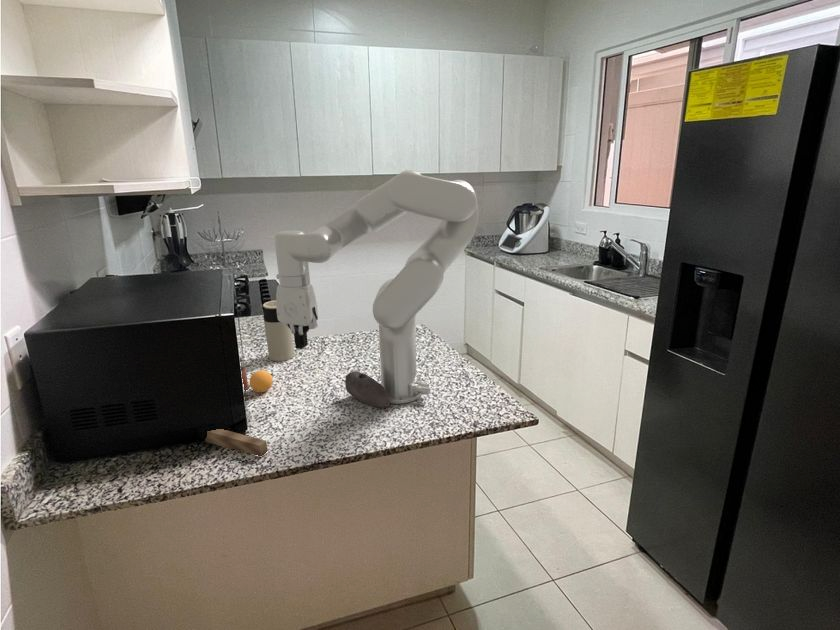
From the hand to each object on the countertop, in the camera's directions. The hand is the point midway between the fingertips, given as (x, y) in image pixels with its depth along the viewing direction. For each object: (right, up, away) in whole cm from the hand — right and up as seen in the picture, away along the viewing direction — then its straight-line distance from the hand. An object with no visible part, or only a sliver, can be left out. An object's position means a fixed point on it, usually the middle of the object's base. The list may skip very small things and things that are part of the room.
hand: (301, 346), depth 129 cm
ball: (-12, -10, +5) cm, 16 cm away
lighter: (-20, -12, +8) cm, 25 cm away
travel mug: (-13, -5, +28) cm, 31 cm away
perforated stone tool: (+18, -15, -1) cm, 23 cm away
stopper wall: (-11, -21, -19) cm, 31 cm away
